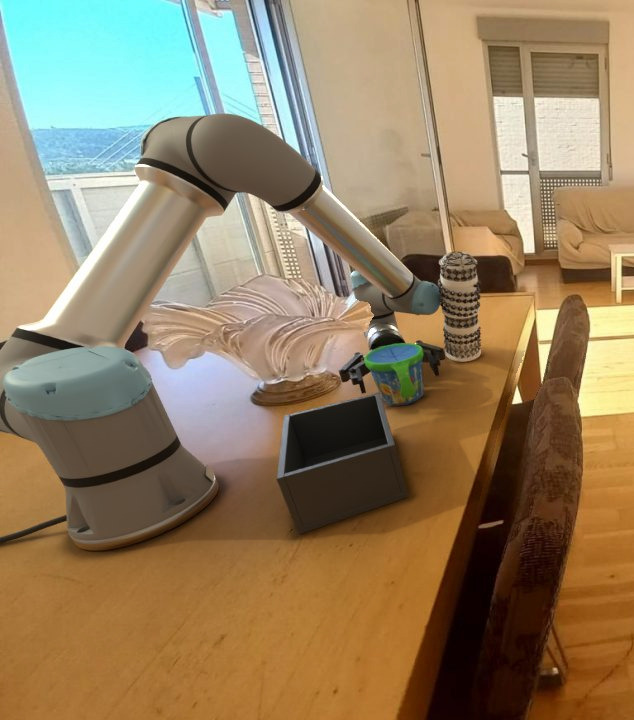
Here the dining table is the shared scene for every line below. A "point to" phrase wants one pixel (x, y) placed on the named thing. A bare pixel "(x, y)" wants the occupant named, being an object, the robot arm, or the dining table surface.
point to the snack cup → (397, 372)
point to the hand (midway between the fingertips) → (400, 378)
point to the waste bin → (338, 462)
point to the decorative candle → (460, 306)
